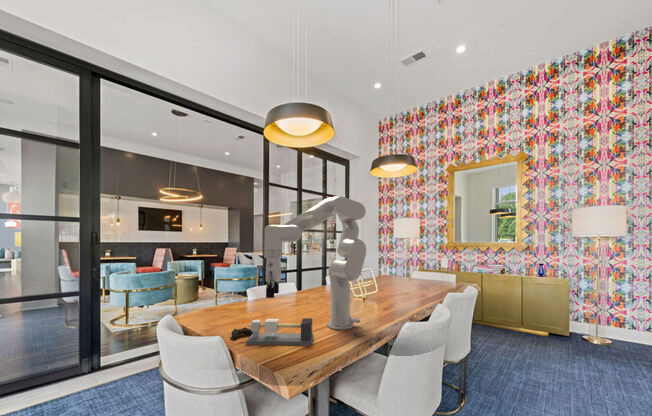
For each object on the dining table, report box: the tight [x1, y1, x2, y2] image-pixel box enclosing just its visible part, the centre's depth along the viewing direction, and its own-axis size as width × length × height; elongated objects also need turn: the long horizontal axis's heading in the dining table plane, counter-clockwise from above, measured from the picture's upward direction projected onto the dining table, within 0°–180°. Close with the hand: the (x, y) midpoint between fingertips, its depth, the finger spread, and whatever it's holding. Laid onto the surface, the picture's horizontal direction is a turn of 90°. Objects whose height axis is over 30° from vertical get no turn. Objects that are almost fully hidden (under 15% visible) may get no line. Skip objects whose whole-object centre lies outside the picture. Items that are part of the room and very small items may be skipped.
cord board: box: [245, 317, 314, 346], centre depth 119 cm, size 27×10×8 cm, turn 89°
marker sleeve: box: [264, 318, 280, 333], centre depth 119 cm, size 5×4×4 cm
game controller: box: [231, 327, 253, 341], centre depth 124 cm, size 10×5×6 cm
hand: (272, 295), depth 121 cm, fingers open, 9 cm apart
